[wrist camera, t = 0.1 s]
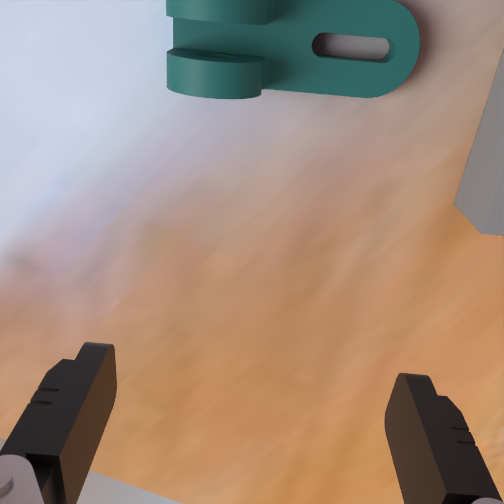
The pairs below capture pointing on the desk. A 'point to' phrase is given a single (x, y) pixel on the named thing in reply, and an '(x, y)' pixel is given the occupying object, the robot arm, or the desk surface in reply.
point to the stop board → (486, 166)
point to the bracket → (285, 47)
